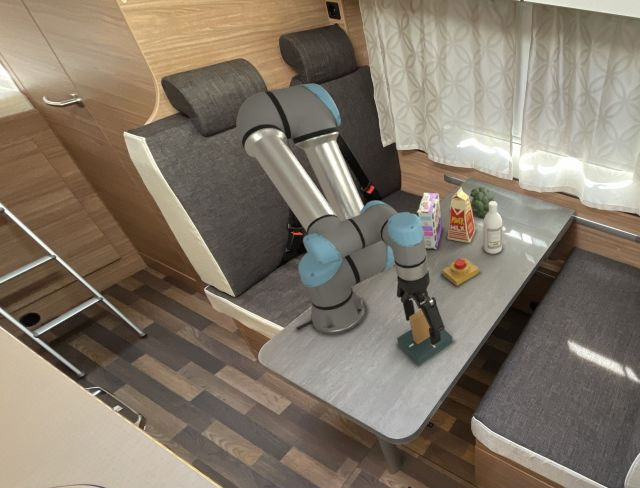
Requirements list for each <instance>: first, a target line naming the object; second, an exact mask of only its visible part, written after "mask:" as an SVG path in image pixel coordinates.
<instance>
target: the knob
mask: <svg viewBox="0 0 640 488" xmlns="http://www.w3.org/2000/svg"><path fill="white" fill-rule="evenodd" d="M409 323H410V324H409V325H410V330H412V335H413V340H414V341H415V342H416V343H417V344H419V343H421V342H422V341H424V340H425V339H427V338H429V337H430V333H429V328H430V326H429V324H428V322H427V320H426V318H425V316H424V314H423V312H422V310H421V309H420V310H418V311H417V312H416V311H415V314H413V315H411V316H410V317H409Z"/></svg>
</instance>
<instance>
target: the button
mask: <svg viewBox="0 0 640 488" xmlns="http://www.w3.org/2000/svg"><path fill="white" fill-rule="evenodd" d="M455 260H456V261H455ZM455 260H454V261H455V268H457V269H463V268H465V266H466V265H465V260H463V258H457V259H455Z"/></svg>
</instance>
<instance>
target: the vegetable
mask: <svg viewBox="0 0 640 488" xmlns="http://www.w3.org/2000/svg"><path fill="white" fill-rule="evenodd" d="M470 191H471V192H470V195H469V197H471V198H472V199H471V200H470V204H471V208H472V210H475V211H477V216H478V217H480V218H483V219H484V218H485V216H486V214H487V213H488V212H489V202H491V201H495V197H494V194H493V193H492V191H490V189H489V190H488V189H487V188H486V187H484V186H480V187H478V188H477V187H476V188H472V190H470Z"/></svg>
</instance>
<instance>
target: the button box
mask: <svg viewBox="0 0 640 488" xmlns="http://www.w3.org/2000/svg"><path fill="white" fill-rule="evenodd" d="M462 259H463V260H465V265H466V266H465V268H463V269H457V268H455V261H456V260H457V259H455V260H452V262H451V263H450V265H448V266H447V267H445V268H443V269H441V273H442V275H443V277H445V278H446V279H447V280H448V281H450V282H451V283H452V284H454V285H455V286H456V287H458V286H459V285H461V284H463V283H465V282H466V281H468V280H470V279H472V278H473V277H475V276H477V275H478V274H480V267H478V266H477V265H475V264H474V263H473V262H471V261H470V260H469V259H467V258H465V257H463V258H462Z"/></svg>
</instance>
